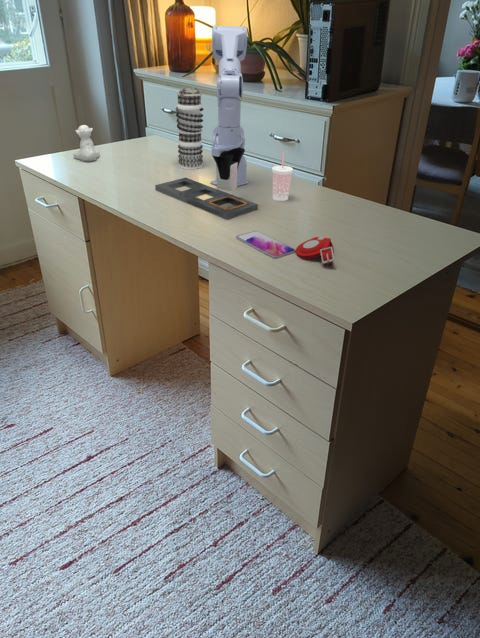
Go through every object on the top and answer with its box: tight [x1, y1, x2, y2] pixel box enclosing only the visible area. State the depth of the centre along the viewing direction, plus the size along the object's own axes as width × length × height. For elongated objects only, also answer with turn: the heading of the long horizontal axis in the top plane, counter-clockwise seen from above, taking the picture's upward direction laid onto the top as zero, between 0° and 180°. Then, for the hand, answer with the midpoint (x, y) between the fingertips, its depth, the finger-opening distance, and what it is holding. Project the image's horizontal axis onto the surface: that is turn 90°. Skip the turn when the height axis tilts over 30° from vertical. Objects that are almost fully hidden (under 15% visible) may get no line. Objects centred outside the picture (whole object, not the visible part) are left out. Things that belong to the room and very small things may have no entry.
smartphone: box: [235, 230, 296, 260], centre depth 127 cm, size 7×1×15 cm
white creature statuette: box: [72, 124, 101, 163], centre depth 182 cm, size 10×9×12 cm
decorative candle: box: [175, 87, 204, 170], centre depth 175 cm, size 9×9×25 cm
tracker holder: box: [295, 236, 335, 266], centre depth 122 cm, size 12×4×10 cm
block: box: [216, 161, 238, 192], centre depth 142 cm, size 4×4×7 cm
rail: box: [154, 177, 259, 220], centre depth 153 cm, size 12×32×2 cm, turn 45°
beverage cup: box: [271, 150, 294, 202], centre depth 152 cm, size 6×6×14 cm
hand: (228, 177), depth 142 cm, fingers closed on block, 4 cm apart
